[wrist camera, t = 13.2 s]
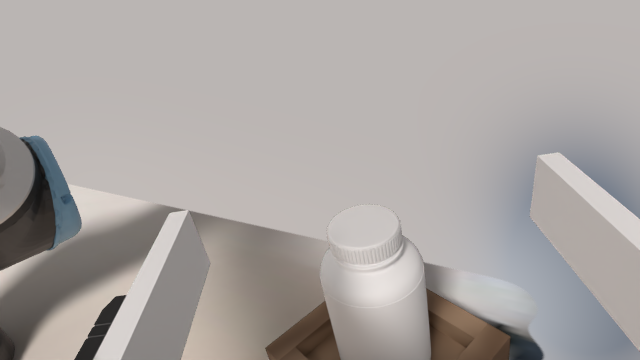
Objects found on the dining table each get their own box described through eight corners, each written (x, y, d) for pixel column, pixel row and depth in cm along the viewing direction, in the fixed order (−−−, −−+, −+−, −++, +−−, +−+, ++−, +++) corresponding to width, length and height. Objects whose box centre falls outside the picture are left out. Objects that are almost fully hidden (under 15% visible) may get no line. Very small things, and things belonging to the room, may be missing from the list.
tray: (273, 368, 38) (265, 348, 36) (379, 280, 45) (376, 260, 44) (394, 505, 27) (389, 483, 26) (508, 359, 34) (510, 336, 33)
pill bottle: (325, 351, 37) (290, 223, 30) (392, 308, 40) (375, 182, 33) (377, 422, 31) (349, 281, 24) (452, 364, 34) (447, 223, 27)
